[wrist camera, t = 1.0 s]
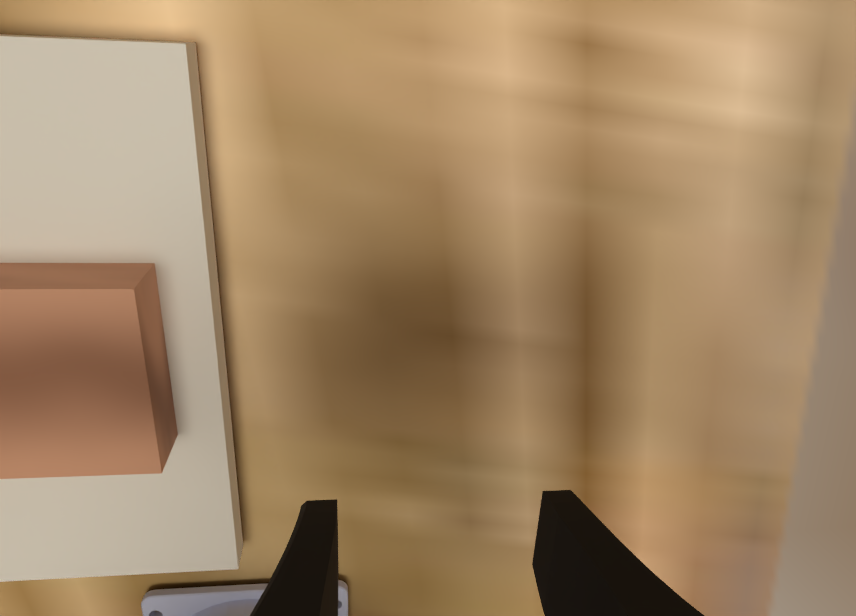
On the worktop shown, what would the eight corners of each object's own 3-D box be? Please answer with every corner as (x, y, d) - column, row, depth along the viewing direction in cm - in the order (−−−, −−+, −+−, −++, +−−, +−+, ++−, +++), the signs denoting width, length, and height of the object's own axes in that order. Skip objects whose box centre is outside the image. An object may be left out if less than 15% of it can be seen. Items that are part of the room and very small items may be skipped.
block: (177, 434, 21) (161, 473, 19) (-87, 442, 20) (-129, 483, 18) (154, 263, 19) (133, 289, 17) (-147, 262, 18) (-203, 289, 16)
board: (243, 545, 25) (238, 569, 24) (-125, 563, 23) (-149, 589, 22) (195, 42, 18) (185, 43, 17) (-343, 19, 16) (-392, 19, 15)
